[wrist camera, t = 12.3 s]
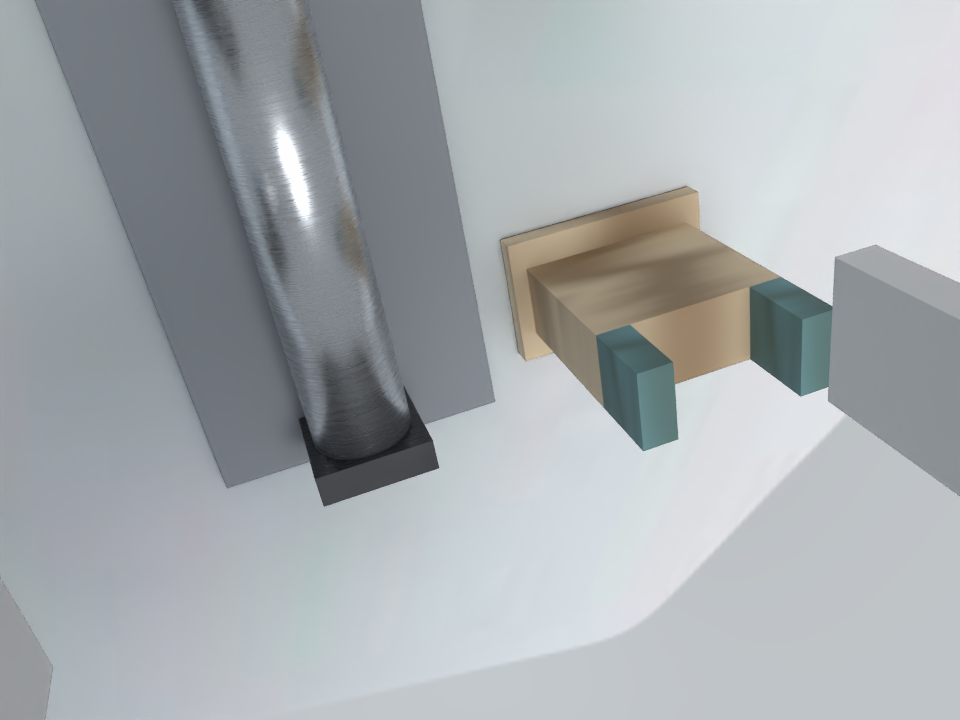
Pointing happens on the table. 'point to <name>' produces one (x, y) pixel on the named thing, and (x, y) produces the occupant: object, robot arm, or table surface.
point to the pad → (220, 230)
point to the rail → (307, 238)
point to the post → (657, 309)
